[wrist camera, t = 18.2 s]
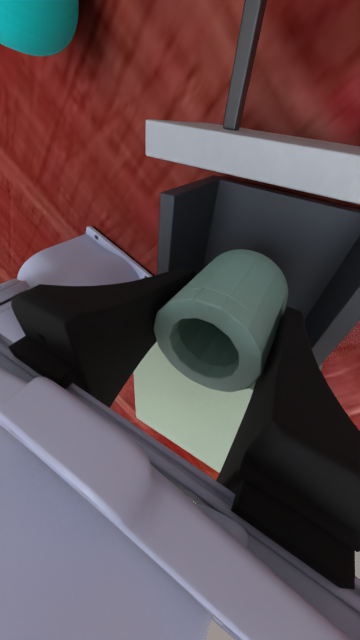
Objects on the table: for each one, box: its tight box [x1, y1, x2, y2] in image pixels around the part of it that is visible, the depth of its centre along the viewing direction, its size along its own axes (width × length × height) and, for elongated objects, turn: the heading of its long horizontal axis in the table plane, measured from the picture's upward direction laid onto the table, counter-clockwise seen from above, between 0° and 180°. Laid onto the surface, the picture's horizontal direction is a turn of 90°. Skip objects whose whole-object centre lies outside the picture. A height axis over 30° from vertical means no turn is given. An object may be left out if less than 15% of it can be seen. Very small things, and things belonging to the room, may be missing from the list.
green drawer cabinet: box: [134, 342, 322, 473], centre depth 22 cm, size 15×13×9 cm
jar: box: [154, 249, 288, 393], centre depth 11 cm, size 4×5×5 cm
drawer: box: [146, 0, 360, 366], centre depth 12 cm, size 19×11×7 cm, turn 173°
